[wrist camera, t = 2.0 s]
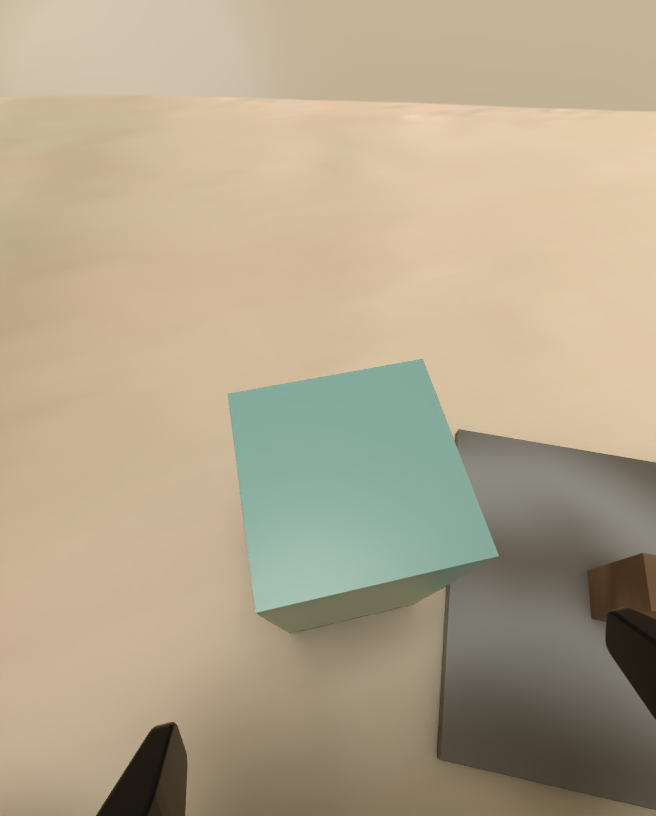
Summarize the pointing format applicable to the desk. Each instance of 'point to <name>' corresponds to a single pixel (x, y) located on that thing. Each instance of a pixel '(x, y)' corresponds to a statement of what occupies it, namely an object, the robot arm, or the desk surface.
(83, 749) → the desk surface
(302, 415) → the teal rectangular pillar
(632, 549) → the flat grey base tile
